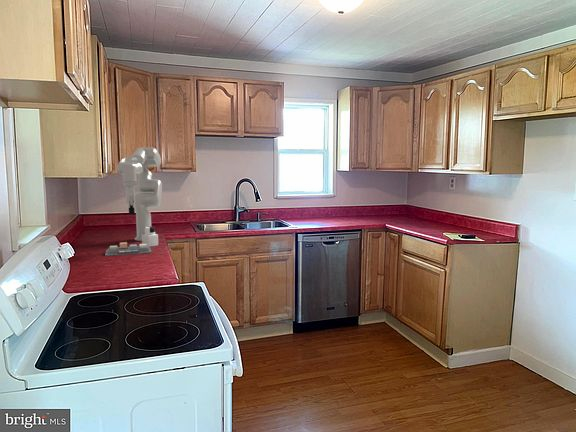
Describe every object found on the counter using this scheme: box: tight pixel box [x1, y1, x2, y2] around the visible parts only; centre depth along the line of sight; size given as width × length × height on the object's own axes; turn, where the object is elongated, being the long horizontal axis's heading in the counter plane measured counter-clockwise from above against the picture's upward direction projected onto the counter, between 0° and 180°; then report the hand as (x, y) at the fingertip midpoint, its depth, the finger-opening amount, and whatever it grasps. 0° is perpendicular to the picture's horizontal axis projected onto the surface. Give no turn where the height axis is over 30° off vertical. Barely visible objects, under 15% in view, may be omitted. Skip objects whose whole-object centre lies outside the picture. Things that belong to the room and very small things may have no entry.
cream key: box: [138, 243, 147, 248], centre depth 249 cm, size 4×4×2 cm
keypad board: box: [104, 245, 153, 257], centre depth 246 cm, size 14×25×2 cm, turn 111°
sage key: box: [109, 245, 118, 250], centre depth 243 cm, size 4×4×2 cm
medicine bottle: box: [141, 226, 159, 248], centre depth 264 cm, size 7×7×12 cm
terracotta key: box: [119, 241, 128, 248], centre depth 245 cm, size 4×4×2 cm
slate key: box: [129, 244, 138, 249], centre depth 247 cm, size 4×4×2 cm
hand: (131, 214), depth 254 cm, fingers closed
